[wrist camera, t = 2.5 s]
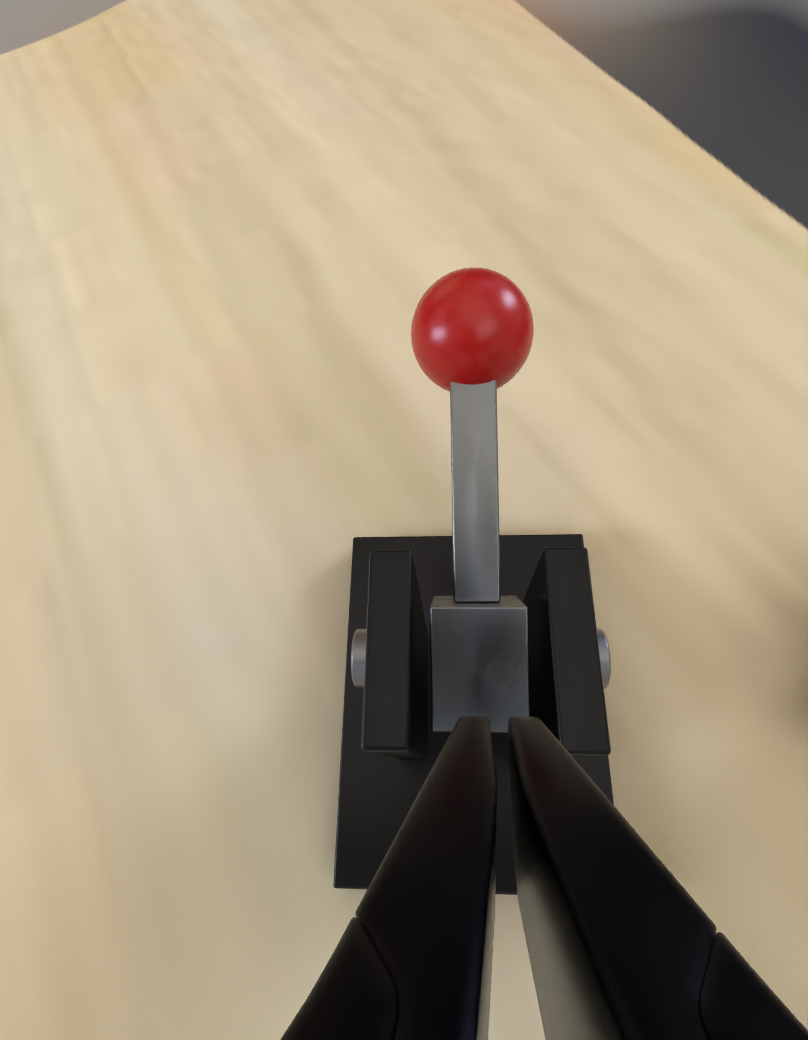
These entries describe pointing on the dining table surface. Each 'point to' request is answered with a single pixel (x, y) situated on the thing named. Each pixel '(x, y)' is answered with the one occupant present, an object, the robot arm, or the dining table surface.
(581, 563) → the switch bracket
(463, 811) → the robot arm
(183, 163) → the dining table surface
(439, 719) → the switch lever
